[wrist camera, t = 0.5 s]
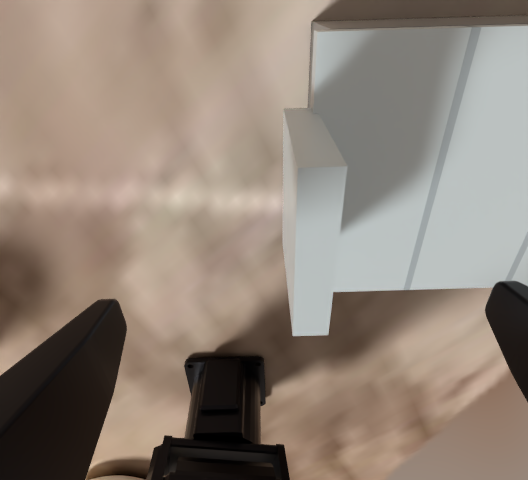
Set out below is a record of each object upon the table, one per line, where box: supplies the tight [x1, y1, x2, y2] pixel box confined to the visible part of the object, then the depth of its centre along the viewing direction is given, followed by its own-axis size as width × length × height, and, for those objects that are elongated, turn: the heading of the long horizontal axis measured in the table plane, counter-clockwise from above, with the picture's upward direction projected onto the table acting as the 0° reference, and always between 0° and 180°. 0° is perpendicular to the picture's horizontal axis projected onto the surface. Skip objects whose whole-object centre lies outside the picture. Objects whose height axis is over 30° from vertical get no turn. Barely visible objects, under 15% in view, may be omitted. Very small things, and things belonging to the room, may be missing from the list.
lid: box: [283, 24, 528, 336], centre depth 13 cm, size 11×16×6 cm
